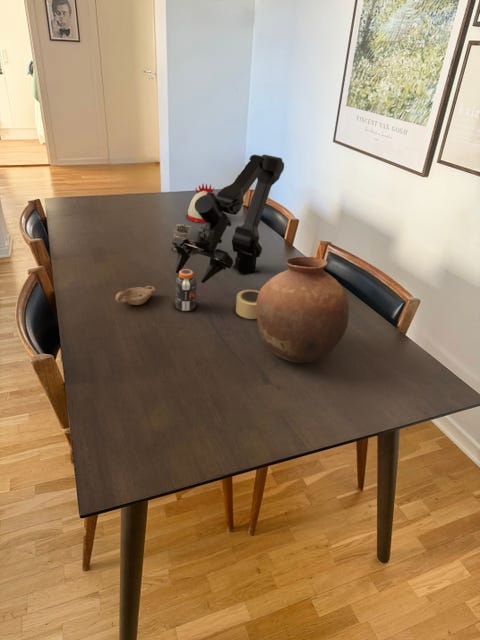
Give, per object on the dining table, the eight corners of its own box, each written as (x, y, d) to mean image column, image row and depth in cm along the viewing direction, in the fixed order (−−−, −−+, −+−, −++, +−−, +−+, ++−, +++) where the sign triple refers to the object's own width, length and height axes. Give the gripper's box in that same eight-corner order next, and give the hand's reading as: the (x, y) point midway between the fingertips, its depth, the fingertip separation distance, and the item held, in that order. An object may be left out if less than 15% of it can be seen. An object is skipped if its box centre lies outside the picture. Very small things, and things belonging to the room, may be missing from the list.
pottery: (318, 390, 104) (339, 296, 91) (235, 353, 113) (243, 264, 100) (351, 345, 121) (373, 261, 108) (277, 317, 130) (288, 236, 117)
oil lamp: (147, 290, 138) (147, 276, 135) (162, 300, 134) (161, 285, 131) (109, 303, 130) (108, 288, 127) (123, 314, 125) (122, 298, 123)
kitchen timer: (218, 224, 193) (219, 189, 185) (186, 221, 192) (186, 186, 185) (219, 213, 205) (221, 180, 197) (189, 211, 204) (190, 177, 196)
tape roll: (255, 301, 138) (257, 287, 135) (271, 315, 131) (273, 300, 128) (230, 306, 133) (231, 292, 131) (245, 321, 127) (246, 306, 124)
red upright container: (171, 249, 166) (171, 224, 160) (176, 246, 168) (176, 221, 163) (191, 254, 163) (191, 228, 158) (195, 251, 166) (196, 225, 161)
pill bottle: (192, 313, 129) (193, 277, 123) (172, 309, 130) (172, 274, 124) (198, 303, 134) (199, 269, 128) (179, 299, 135) (179, 265, 129)
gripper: (176, 208, 127) (150, 256, 125) (230, 225, 119) (204, 275, 117) (192, 228, 137) (169, 272, 135) (243, 244, 129) (219, 291, 127)
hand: (189, 277), depth 128 cm, fingers open, 9 cm apart
